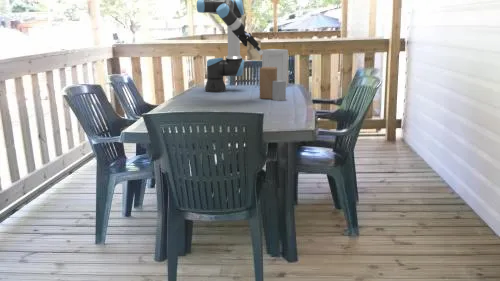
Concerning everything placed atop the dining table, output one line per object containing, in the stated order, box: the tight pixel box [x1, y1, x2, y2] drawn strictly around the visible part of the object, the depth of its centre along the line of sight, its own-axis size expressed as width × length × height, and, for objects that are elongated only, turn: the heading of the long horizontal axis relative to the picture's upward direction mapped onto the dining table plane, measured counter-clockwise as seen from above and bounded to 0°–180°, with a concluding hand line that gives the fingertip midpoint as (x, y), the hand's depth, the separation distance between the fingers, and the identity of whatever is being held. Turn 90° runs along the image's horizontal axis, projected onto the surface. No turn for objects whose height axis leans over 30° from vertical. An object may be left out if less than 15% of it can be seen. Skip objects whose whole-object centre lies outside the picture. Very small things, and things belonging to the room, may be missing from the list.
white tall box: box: [261, 48, 289, 88], centre depth 351 cm, size 19×15×28 cm
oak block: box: [246, 39, 262, 62], centre depth 282 cm, size 6×6×12 cm
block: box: [259, 66, 277, 100], centre depth 297 cm, size 10×10×20 cm
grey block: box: [271, 80, 287, 102], centre depth 290 cm, size 6×6×12 cm
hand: (258, 53), depth 285 cm, fingers closed on oak block, 6 cm apart
